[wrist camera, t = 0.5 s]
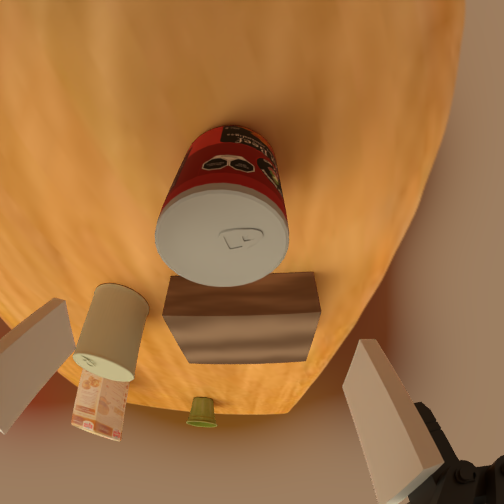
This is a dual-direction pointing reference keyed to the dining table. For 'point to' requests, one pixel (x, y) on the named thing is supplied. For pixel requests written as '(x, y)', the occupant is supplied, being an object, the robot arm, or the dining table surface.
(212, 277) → the canned food
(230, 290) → the walnut riser
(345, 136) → the dining table surface
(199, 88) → the dining table surface
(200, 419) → the plant pot
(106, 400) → the coffeecake box
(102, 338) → the can
